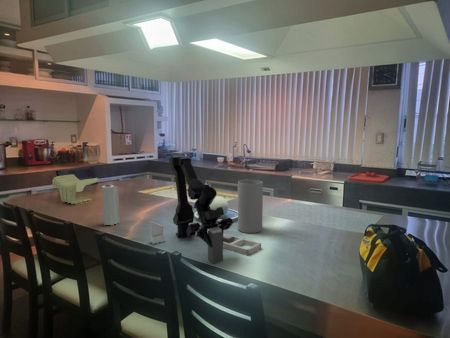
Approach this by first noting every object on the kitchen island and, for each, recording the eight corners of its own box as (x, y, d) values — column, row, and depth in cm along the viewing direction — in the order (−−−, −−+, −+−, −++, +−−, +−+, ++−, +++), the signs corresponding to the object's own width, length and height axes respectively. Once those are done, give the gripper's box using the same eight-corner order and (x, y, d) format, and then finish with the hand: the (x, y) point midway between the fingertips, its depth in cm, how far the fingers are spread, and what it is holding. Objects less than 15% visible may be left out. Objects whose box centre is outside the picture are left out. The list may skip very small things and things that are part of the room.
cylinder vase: (261, 234, 154) (262, 184, 151) (236, 232, 156) (236, 183, 153) (262, 226, 166) (263, 180, 163) (239, 225, 168) (239, 179, 165)
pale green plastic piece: (53, 201, 223) (52, 176, 221) (75, 197, 236) (73, 174, 234) (77, 207, 207) (75, 180, 204) (99, 202, 220) (97, 177, 217)
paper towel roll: (101, 225, 168) (99, 186, 166) (109, 222, 174) (107, 184, 171) (112, 226, 166) (110, 187, 163) (119, 223, 171) (118, 185, 169)
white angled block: (141, 238, 141) (149, 220, 143) (159, 244, 147) (167, 227, 149) (144, 240, 138) (152, 222, 140) (162, 247, 144) (170, 229, 146)
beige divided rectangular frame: (261, 248, 136) (261, 240, 136) (247, 255, 129) (248, 247, 128) (226, 238, 148) (226, 231, 148) (212, 244, 141) (212, 237, 140)
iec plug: (208, 260, 124) (207, 228, 122) (218, 257, 126) (218, 226, 125) (212, 263, 121) (212, 231, 119) (222, 261, 123) (222, 229, 121)
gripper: (188, 203, 119) (201, 240, 111) (230, 198, 128) (245, 232, 120) (181, 218, 127) (192, 254, 119) (221, 212, 136) (234, 245, 128)
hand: (217, 245), depth 121 cm, fingers closed on iec plug, 4 cm apart
